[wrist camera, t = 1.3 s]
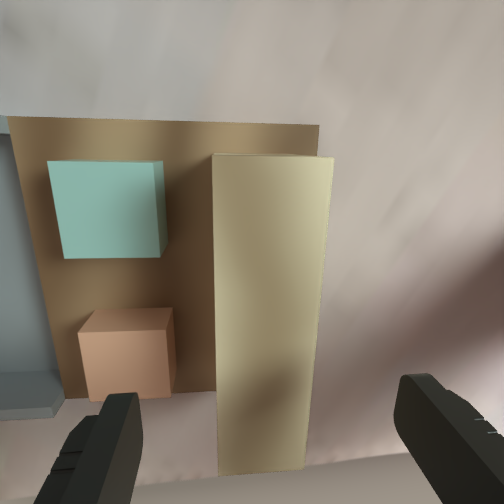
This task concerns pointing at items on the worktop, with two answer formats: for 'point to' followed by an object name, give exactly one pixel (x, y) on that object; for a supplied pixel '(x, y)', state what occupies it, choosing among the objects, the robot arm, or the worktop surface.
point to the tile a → (110, 207)
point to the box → (22, 308)
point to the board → (178, 226)
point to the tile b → (129, 352)
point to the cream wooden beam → (267, 304)
